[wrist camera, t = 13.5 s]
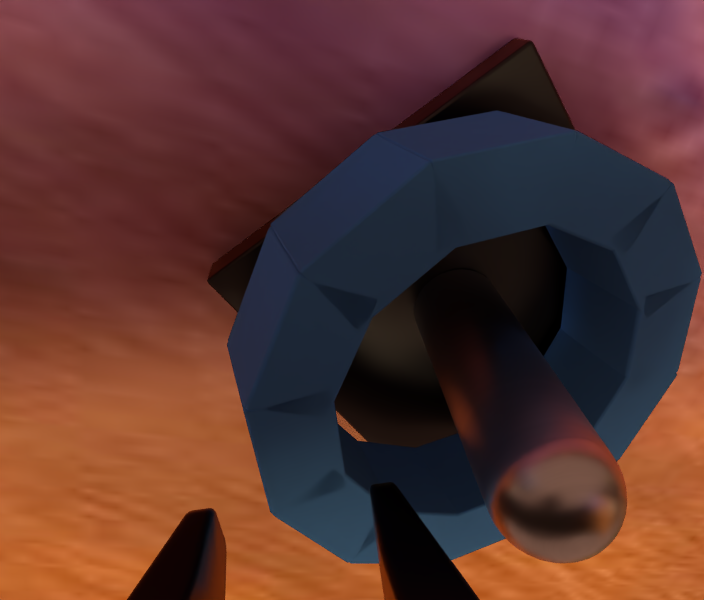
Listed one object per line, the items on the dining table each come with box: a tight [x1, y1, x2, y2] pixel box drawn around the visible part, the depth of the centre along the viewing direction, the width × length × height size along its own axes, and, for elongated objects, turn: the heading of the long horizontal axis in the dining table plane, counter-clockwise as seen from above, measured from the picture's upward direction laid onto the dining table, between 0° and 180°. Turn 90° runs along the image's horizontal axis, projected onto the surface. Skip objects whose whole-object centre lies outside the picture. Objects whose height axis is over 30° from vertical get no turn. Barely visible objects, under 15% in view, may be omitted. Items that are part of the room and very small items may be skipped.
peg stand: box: [207, 38, 627, 563], centre depth 11 cm, size 9×9×8 cm
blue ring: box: [227, 111, 702, 563], centre depth 12 cm, size 10×10×2 cm
